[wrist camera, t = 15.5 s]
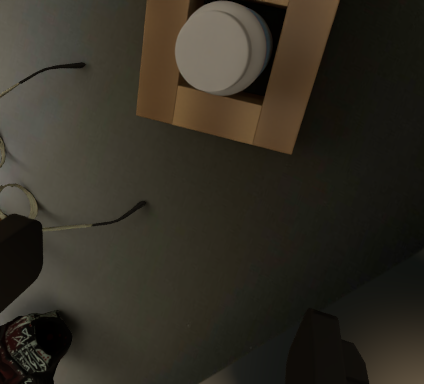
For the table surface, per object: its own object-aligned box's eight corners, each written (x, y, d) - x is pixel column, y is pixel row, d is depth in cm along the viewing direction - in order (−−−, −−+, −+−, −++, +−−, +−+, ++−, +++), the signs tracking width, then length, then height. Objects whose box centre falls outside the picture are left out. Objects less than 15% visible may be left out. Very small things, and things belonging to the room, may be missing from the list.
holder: (344, -30, 27) (352, -40, 23) (291, 140, 33) (291, 155, 29) (173, -62, 29) (153, -78, 25) (154, 106, 35) (135, 115, 31)
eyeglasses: (-25, 102, 39) (-66, 110, 35) (83, 55, 34) (52, 59, 30) (47, 230, 45) (19, 252, 40) (149, 206, 40) (131, 228, 35)
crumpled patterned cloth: (23, 267, 49) (-33, 322, 52) (-7, 369, 36) (-79, 433, 39) (86, 296, 54) (32, 344, 57) (77, 393, 42) (9, 447, 45)
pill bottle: (257, -7, 29) (237, -28, 19) (283, 64, 31) (277, 80, 21) (194, 28, 31) (146, 26, 21) (222, 92, 33) (189, 118, 23)
